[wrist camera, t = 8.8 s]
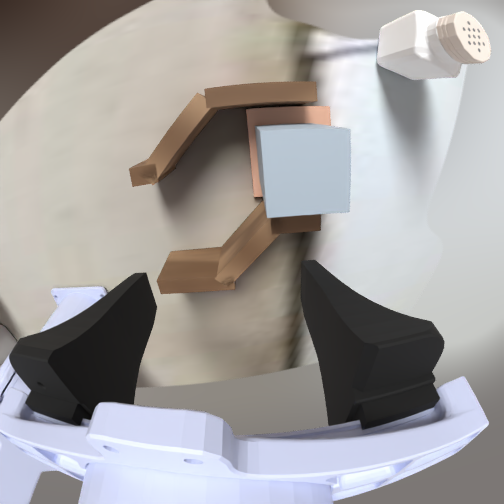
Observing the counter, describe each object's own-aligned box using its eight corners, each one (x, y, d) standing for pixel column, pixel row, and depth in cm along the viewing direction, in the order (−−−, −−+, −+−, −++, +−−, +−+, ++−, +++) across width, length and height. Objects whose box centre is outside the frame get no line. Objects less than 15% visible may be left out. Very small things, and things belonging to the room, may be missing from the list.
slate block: (312, 175, 20) (349, 212, 13) (259, 179, 20) (266, 218, 13) (310, 123, 18) (350, 129, 11) (254, 125, 18) (260, 131, 11)
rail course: (307, 252, 23) (318, 281, 19) (173, 263, 24) (160, 294, 20) (301, 88, 17) (315, 81, 13) (144, 107, 17) (119, 107, 13)
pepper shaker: (417, 44, 14) (494, 28, 6) (413, 82, 16) (495, 81, 8) (377, 25, 14) (446, -8, 6) (373, 65, 16) (448, 47, 8)
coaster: (329, 189, 21) (332, 191, 20) (253, 194, 21) (254, 197, 20) (327, 106, 18) (329, 106, 17) (245, 109, 18) (245, 109, 17)
